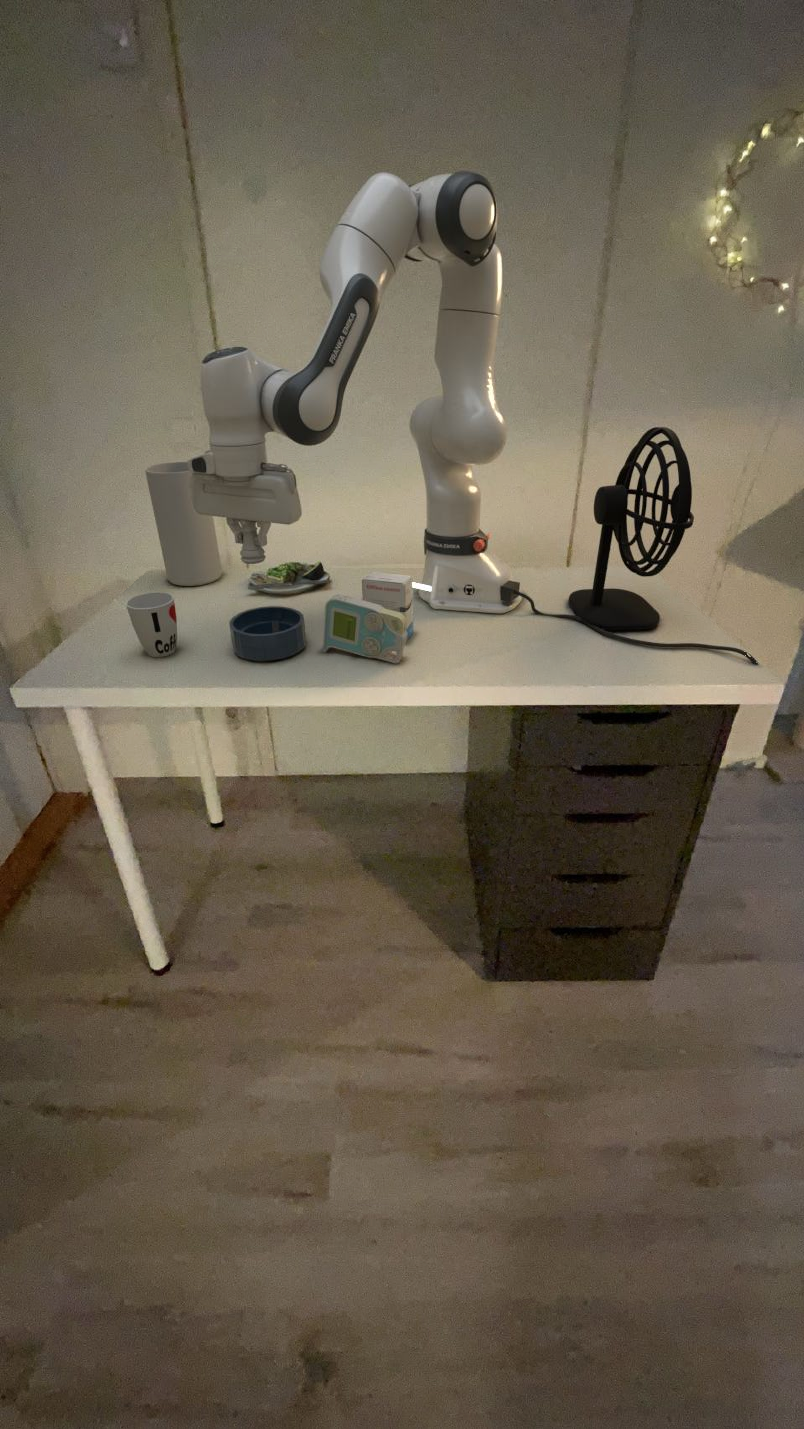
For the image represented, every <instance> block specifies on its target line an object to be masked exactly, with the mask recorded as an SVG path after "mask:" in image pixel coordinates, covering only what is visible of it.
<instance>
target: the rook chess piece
mask: <svg viewBox="0 0 804 1429" xmlns="http://www.w3.org/2000/svg"><path fill="white" fill-rule="evenodd" d="M239 524H240V526H241V528H242V529H241V531H242V532H243V544H242V547H241V550H240V551H239V554H240V556H241V557H240V560H241V561H242V563H244V564H247V565H248V564H249V565H254V564H255V565H256V564H261V563H263V562H264V561H265V560H266V558H267V556H266V555H265V553H266V551H265V549H264V548H263V547H261V546H256V545H255V543H254V542H255V541H254V536H255V535H257V534H258V527H257V521H252V520H243V519H239Z"/></svg>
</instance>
